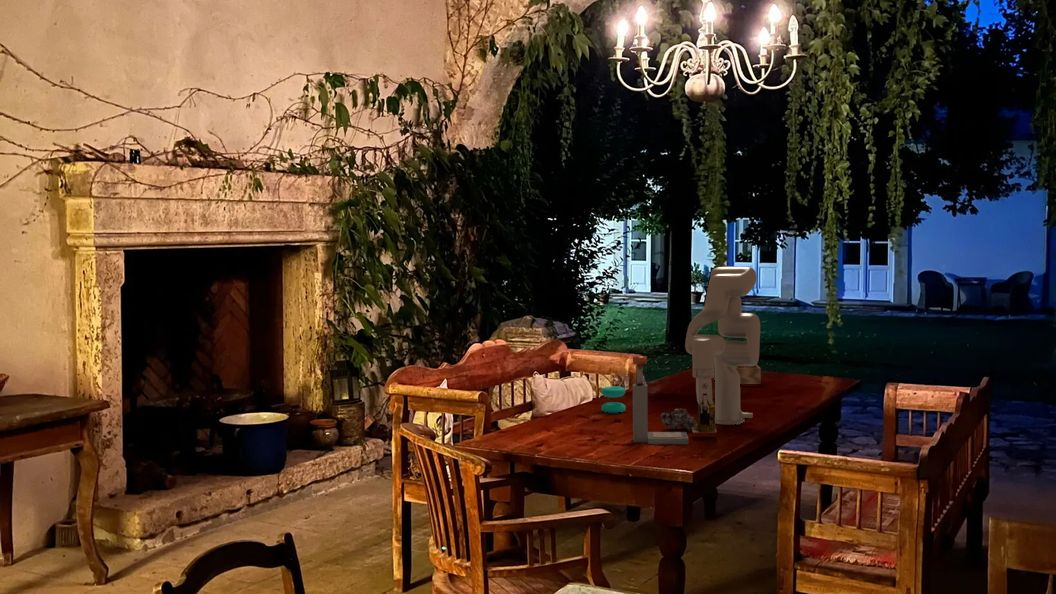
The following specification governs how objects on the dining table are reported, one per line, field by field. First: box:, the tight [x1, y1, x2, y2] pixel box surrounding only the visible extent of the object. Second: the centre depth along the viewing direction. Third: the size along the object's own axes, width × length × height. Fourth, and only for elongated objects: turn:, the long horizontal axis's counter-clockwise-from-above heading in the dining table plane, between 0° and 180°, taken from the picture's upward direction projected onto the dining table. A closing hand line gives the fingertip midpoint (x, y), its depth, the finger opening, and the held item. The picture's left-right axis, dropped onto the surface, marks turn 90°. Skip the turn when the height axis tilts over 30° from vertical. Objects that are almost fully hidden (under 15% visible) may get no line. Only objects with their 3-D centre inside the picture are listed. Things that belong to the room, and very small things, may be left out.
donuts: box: [600, 385, 627, 414], centre depth 432 cm, size 10×10×10 cm
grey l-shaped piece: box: [632, 383, 690, 445], centre depth 371 cm, size 19×12×20 cm, turn 85°
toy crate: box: [713, 363, 762, 384], centre depth 508 cm, size 20×29×9 cm
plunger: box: [632, 355, 648, 386], centre depth 370 cm, size 5×5×13 cm
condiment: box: [691, 396, 718, 434], centre depth 376 cm, size 7×8×12 cm
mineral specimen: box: [659, 407, 698, 432], centre depth 391 cm, size 12×9×10 cm
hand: (704, 421), depth 376 cm, fingers closed on condiment, 6 cm apart
